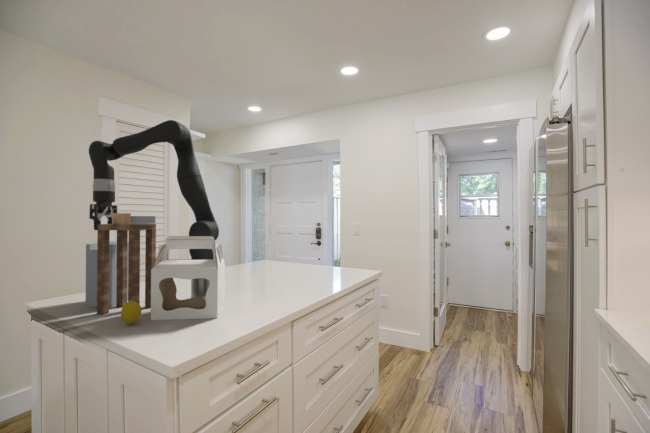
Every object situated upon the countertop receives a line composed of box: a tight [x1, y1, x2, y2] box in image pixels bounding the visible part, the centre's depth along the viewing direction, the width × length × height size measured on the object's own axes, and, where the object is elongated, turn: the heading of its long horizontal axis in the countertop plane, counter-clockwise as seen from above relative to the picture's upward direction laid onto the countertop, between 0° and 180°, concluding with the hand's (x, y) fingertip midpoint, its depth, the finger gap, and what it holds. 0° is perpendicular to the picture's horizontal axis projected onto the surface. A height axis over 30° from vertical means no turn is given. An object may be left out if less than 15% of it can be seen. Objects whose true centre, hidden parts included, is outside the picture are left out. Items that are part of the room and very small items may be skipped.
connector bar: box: [112, 212, 156, 225], centre depth 121 cm, size 4×20×4 cm, turn 177°
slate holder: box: [85, 240, 129, 308], centre depth 127 cm, size 10×14×24 cm
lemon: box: [120, 300, 142, 326], centre depth 101 cm, size 6×6×8 cm
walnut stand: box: [96, 223, 157, 316], centre depth 117 cm, size 14×12×32 cm
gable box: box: [150, 235, 226, 321], centre depth 113 cm, size 22×13×28 cm, turn 97°
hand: (104, 229), depth 130 cm, fingers open, 8 cm apart
